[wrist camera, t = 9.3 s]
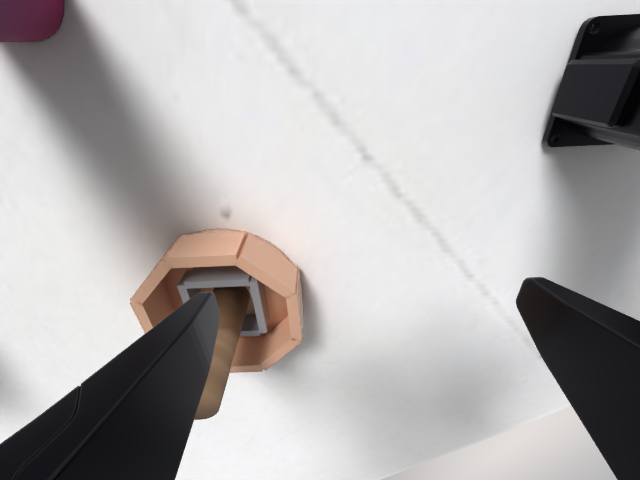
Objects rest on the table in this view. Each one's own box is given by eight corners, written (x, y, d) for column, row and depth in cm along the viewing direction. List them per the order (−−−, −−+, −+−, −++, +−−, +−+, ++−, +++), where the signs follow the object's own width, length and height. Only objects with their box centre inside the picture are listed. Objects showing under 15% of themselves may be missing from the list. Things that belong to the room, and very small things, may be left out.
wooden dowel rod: (246, 279, 23) (212, 387, 15) (252, 308, 25) (224, 418, 17) (209, 281, 23) (156, 389, 15) (217, 309, 25) (173, 420, 17)
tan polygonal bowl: (295, 225, 21) (292, 252, 18) (306, 335, 27) (305, 369, 24) (138, 232, 22) (108, 260, 18) (182, 340, 27) (166, 375, 24)
